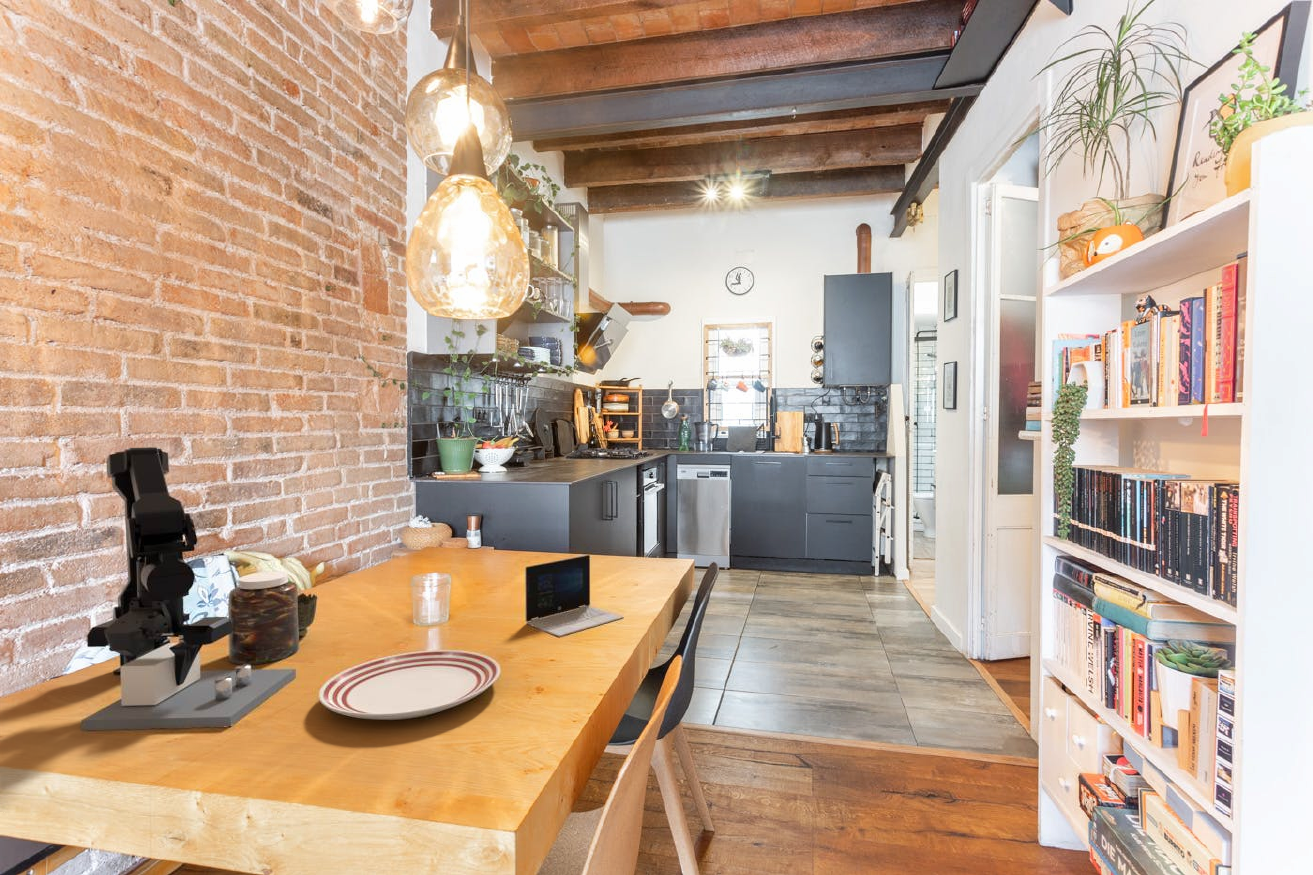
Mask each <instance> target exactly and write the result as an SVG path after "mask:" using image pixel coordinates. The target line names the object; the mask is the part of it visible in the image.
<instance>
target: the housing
mask: <svg viewBox="0 0 1313 875" xmlns="http://www.w3.org/2000/svg"><path fill="white" fill-rule="evenodd" d="M178 643H179V642H170V643H168V644H166V645H164V646H162V647H160V648H158V649H156V650H154V651H151V652H149V653H147V654H145V655H143V656H141V657H139V658H137V659H135V660H133V661H131V662H128V663H126V664H124V665H122V666H120V665H119V668H121V674H120V694H121V695H120V696H121V697H120V699H121V706H131V705H156V704H158V703H160V702H161V701H163V700H165V699H166V698H168V697H170V696H172V695H173V694H175V693H177V692H178V691H180V690H182V689H183V688H185V687H187V686H188V685H190V684H192V683H193V682H195V681H197V680H198V679H200V671H201V653H200V652H201V651H199V652H198V654H197V656H196V658H195V660H194V662H193V664H192V666H191V668H190V670H189V672H188V675H187V677H186V679H185V681H184V683H183V684H181V685H177V684H176V679H175V654H174V653H173V652H172V651H171V650H170V649H169V648H170V647H172V646H174V645H176V644H178Z"/></svg>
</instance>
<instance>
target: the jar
mask: <svg viewBox="0 0 1313 875" xmlns="http://www.w3.org/2000/svg"><path fill="white" fill-rule="evenodd" d="M288 575H289V574H288V573H287V572H285V571H277V570H275V571H261V572H255V573H250V574H246V575H243V576H240V577H239V578H238V581H237V582H238V583H237V584H238V586H237V587H234V588H233V589H231V590H230V592H229V593H228V594H229V595H228V604H227V606H228V607H227V608H228V609H227V610H228V614H227V616H228V617H227V618H228V619H229V620H230V621H231V622H232V633H231V634H229V635H228V656H229V658H228V659H229V662H231V663H232V664H235V665H239V666H240V665H244V664H250V665H251V666H255V665H262V664H263V665H264V664H267V663H272V662H278V661H280V660H283V659H285V658H288V657H290V656H292V655H294V654H295V653H297V652H298V651H299V649H300V637H299V616H298V596H299V595H298V586H297V584H296V582H293V581H290V580H289V576H288Z"/></svg>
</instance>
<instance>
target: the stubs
mask: <svg viewBox="0 0 1313 875" xmlns="http://www.w3.org/2000/svg"><path fill="white" fill-rule="evenodd" d="M234 670H235V687H237V688H242V687H247V686H249V685H251V670H252V665H250V664H244V665H240V664H239V665H237V666H235V667H234ZM230 698H232V677H230V676H226V677H221V678H218V679H216V680H215V701H225V700H228V699H230Z"/></svg>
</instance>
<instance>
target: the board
mask: <svg viewBox="0 0 1313 875" xmlns="http://www.w3.org/2000/svg"><path fill="white" fill-rule="evenodd" d="M226 676H230V677H232V698H230V699H228V700H225V701H215V680H216V679H218V678H221V677H226ZM296 676H297V670H296V668H279V669H278V668H277V669H271V668H270V669H267V668H265V669H251V685H249V686H247V687H242V688H237V687H235V669H233V670H232V669H231V670H230V669H226V670H225V669H224V670H223V669H222V670H221V669H220V670H219V669H217V670H200V679H198V680H197V681H195V682H193V683H192V684H190V685H188V686H187V687H185V688H183V689H182V690H180V691H178V692H177V693H175V694H173V695H172V696H170V697H168V698H166V699H165V700H163V701H161V702H160V703H158V704H156V705H131V706H121V698H120V699H118V700H116V701H114V702H113V703H110V704H109V705H107V706H105V707H103V708H102V709H99V710H97V711H95V712H94V713H92V714H90V715H88V716H87V717H85V718H82V719H80V721H81V731H102V730H103V731H110V730H111V731H115V730H121V729H122V730H152V729H151V728H166V729H184V728H183V727H210V728H225V727H224V726H231V725H233V724H234V725H235V724H237V723H238V722H239V721H241V720H242V719H243V718H244V717H245V716H244V715H246V714H247V713H248V712H250V711H251V710H252V711H254V710H255V709H256V708H258V707H259V706H260V705H262V704H263V703H264V702H266V701H267V700H268V699H269V698H271V697H272V696H273V695H275V694H276V693H277V692H278V691H280V690H281V689H282V688H284V687H285V686H286V685H288V684H289V683H290V682H292V681H293V680H294V679H296V678H297V677H296ZM271 695H272V696H271ZM270 696H271V697H270ZM267 698H268V699H267ZM266 699H267V700H266ZM265 700H266V701H265ZM262 702H263V703H262ZM261 703H262V704H261ZM258 705H259V706H258ZM257 706H258V707H257ZM252 711H251V712H252ZM251 712H250V713H251ZM248 714H249V713H248ZM248 714H247V715H248ZM247 715H246V716H247ZM243 716H244V717H243ZM242 717H243V718H242ZM241 718H242V719H241ZM240 719H241V720H240ZM237 721H238V722H237ZM236 722H237V723H236ZM234 725H233V726H234ZM217 726H218V727H217ZM220 726H222V727H220ZM231 727H232V726H231Z"/></svg>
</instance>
